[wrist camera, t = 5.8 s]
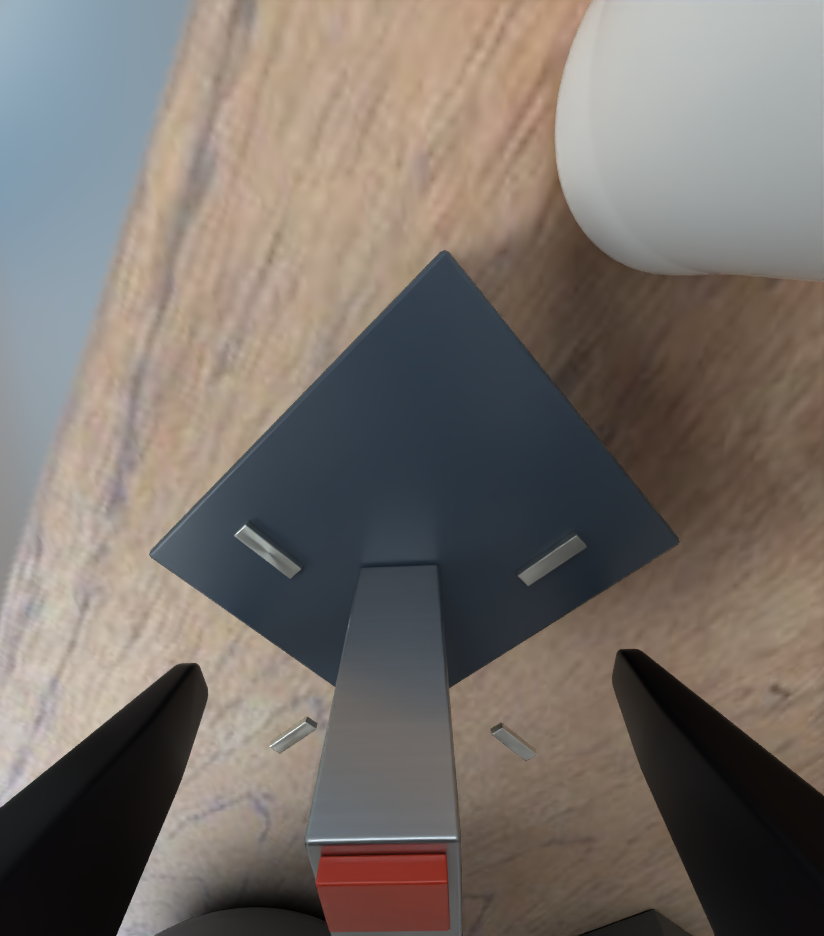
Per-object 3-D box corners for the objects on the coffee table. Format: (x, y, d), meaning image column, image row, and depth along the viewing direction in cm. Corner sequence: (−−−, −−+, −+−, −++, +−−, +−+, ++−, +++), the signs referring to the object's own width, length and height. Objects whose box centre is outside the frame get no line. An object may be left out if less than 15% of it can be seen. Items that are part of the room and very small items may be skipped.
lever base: (403, 720, 15) (400, 827, 12) (158, 544, 12) (74, 628, 9) (675, 550, 12) (760, 637, 9) (436, 259, 9) (445, 246, 6)
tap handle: (445, 729, 10) (466, 1056, 6) (381, 731, 10) (354, 1055, 6) (439, 562, 8) (464, 873, 4) (359, 566, 8) (295, 876, 4)
